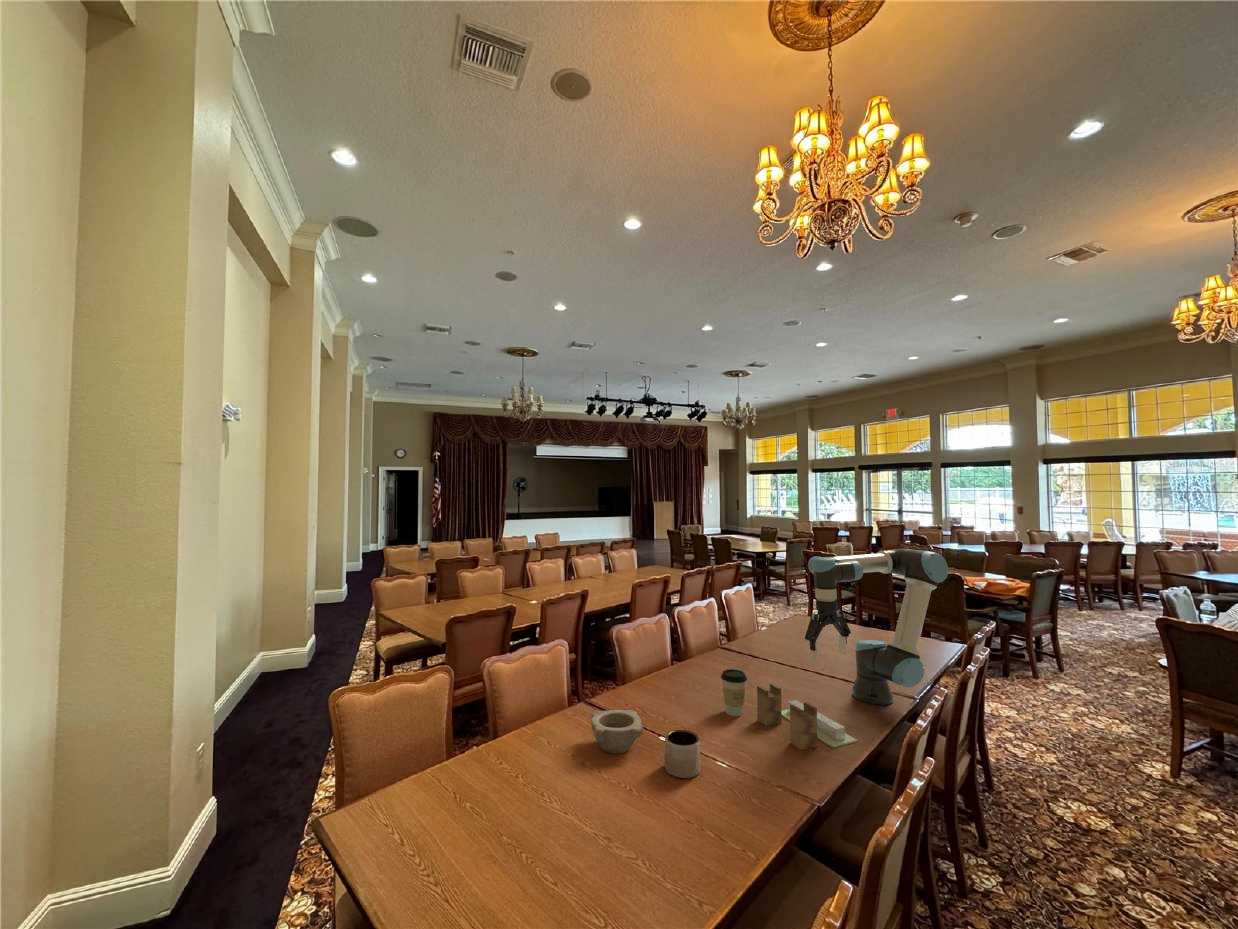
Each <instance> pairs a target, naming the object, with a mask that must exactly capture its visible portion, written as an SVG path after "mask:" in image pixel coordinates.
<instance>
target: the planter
mask: <svg viewBox="0 0 1238 929" xmlns="http://www.w3.org/2000/svg"><path fill="white" fill-rule="evenodd" d="M700 738H701V737H700V736H699V735H698V734H697V733H695V731H694V732H693V731H692V730H687V729H673V730H669V731H668V732H666V733H665V735H664V769H665V771H666V773H667V774H668V775H670V776H672V777H674V778H677V777H678V778H677V779H682V778H688V779H692V778H694V777H696V776H697V775H698V774H700V772H701V739H700Z"/></svg>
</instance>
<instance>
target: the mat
mask: <svg viewBox="0 0 1238 929" xmlns="http://www.w3.org/2000/svg"><path fill="white" fill-rule="evenodd" d="M781 713H782V718H785V720H787V721H789V722H790V713H789V712H788V708H787V709H783V710H782V709H781ZM817 738H818V741H821V742H823V743H824V744H826V745H827V746H829V747H830V748H837V747H841V746H846V745H850V744H855V743H858V739H857V738H856V737H853V736H851V735H849V734H848V733H846V732H845V739H843V740H839V741H835V740H833V739H832V738H830V737H828V736H827V735H825V734H823V733H822V732H820V731H818V730H817Z"/></svg>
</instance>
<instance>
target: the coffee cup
mask: <svg viewBox="0 0 1238 929" xmlns="http://www.w3.org/2000/svg"><path fill="white" fill-rule="evenodd" d="M720 678H721V680H722V681H721V682H722V691H723V698H724V699H723V700H724V705H725V706H724V707H725V712H726V714H727V715H729V716H731V717H740V716H742V715H743V711H744V705H745V704H744V703H745V694H746V682H747V681H748V678H747V676H746V673H745V672H744V671H742V670H740V669H733V668H730V669H724V670H722V674H721V676H720Z"/></svg>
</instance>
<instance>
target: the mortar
mask: <svg viewBox="0 0 1238 929" xmlns="http://www.w3.org/2000/svg"><path fill="white" fill-rule="evenodd" d="M590 715H591V716H590V717H591V719H590V724H591V729H592V732H593V735H594V737H595V740H596V741H597V744H598V745H599V747H600V748H601V749H602V750H603V752H605V751H606V753H608V754H612V753H614V754H613V755H620V754H619V753H621V754H624V753H625V752H627V751H629V750H630V749H631V747H632V746H633V744H634V743H635V741H636V739H639V738H640V737H641V736H642V735H643V732H644V727H643V726H642V719H641V717H640V716H639V715H638V712H637V711H635V710H632V709H627V710H624V709H623V710H621V709H609V710H602V711H600V710H597V711H596V710H595V711H593V712H592V713H591V714H590Z"/></svg>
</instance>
